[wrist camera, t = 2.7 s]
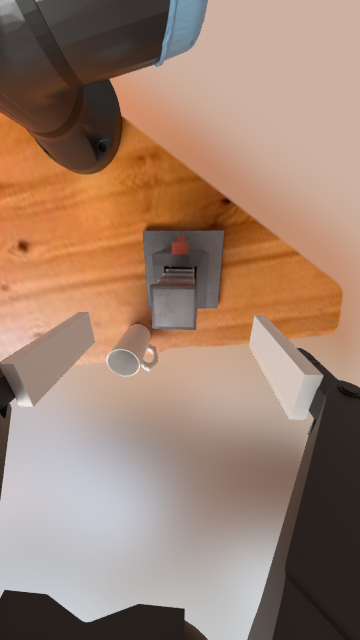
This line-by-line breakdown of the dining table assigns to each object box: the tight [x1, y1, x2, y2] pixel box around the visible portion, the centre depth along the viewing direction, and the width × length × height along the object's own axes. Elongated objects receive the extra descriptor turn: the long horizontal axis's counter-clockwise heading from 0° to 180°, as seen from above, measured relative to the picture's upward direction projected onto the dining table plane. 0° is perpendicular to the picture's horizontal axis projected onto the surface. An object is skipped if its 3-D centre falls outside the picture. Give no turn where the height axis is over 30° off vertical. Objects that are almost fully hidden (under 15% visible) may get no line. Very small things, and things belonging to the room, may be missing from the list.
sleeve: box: [143, 231, 224, 308], centre depth 34 cm, size 16×16×12 cm
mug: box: [107, 324, 158, 376], centre depth 42 cm, size 10×7×12 cm, turn 62°
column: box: [150, 266, 198, 330], centre depth 28 cm, size 5×5×22 cm
